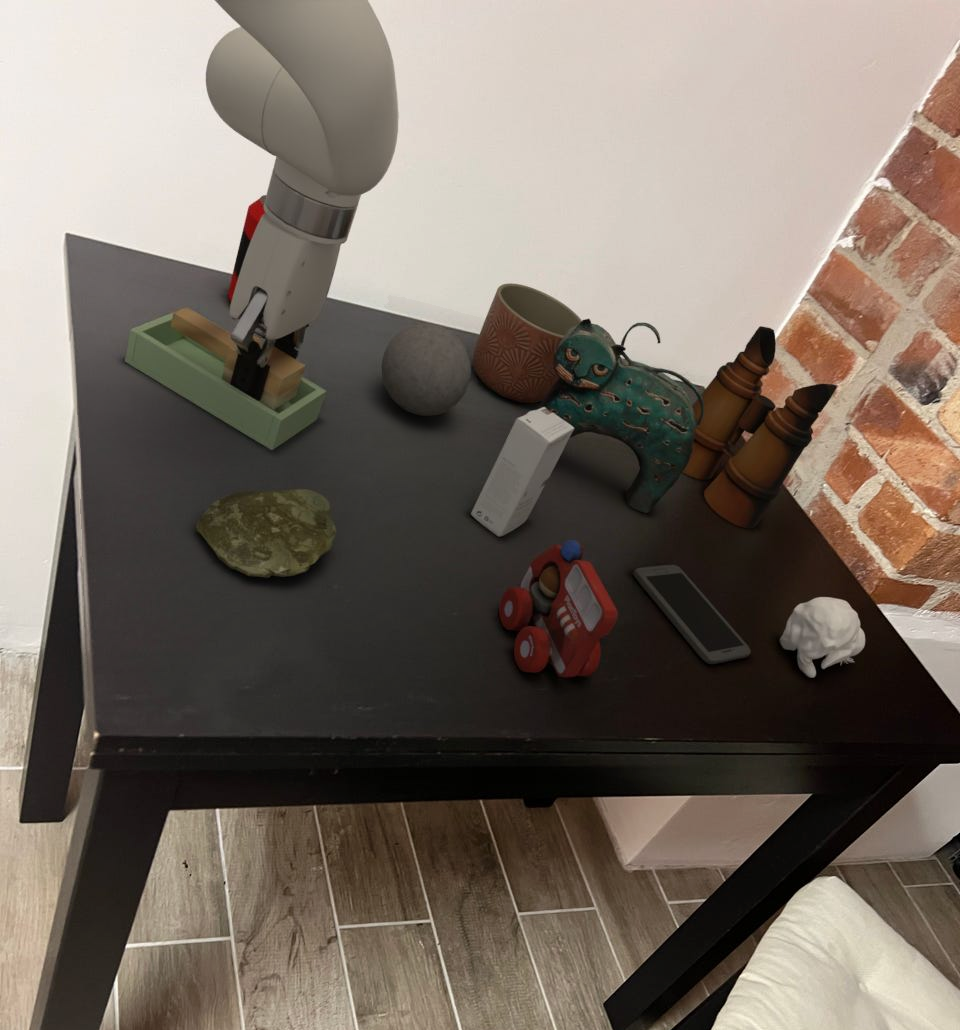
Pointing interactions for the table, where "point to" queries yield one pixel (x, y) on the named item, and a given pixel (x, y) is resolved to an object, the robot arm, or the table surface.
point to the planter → (521, 342)
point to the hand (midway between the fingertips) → (259, 384)
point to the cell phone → (692, 614)
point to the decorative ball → (426, 369)
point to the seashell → (269, 531)
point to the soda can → (246, 239)
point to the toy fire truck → (559, 613)
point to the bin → (217, 384)
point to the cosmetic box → (521, 470)
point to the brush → (282, 366)
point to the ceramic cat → (625, 406)
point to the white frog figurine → (823, 633)
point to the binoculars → (774, 437)
